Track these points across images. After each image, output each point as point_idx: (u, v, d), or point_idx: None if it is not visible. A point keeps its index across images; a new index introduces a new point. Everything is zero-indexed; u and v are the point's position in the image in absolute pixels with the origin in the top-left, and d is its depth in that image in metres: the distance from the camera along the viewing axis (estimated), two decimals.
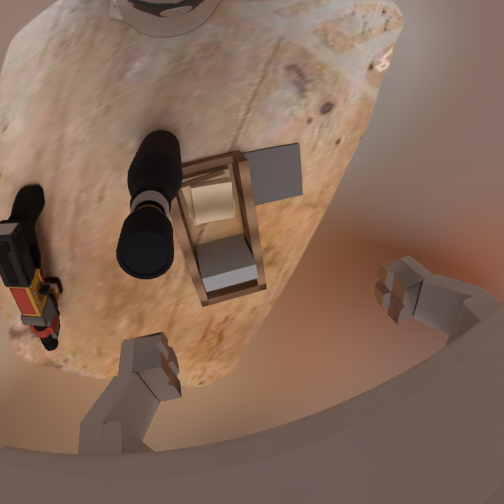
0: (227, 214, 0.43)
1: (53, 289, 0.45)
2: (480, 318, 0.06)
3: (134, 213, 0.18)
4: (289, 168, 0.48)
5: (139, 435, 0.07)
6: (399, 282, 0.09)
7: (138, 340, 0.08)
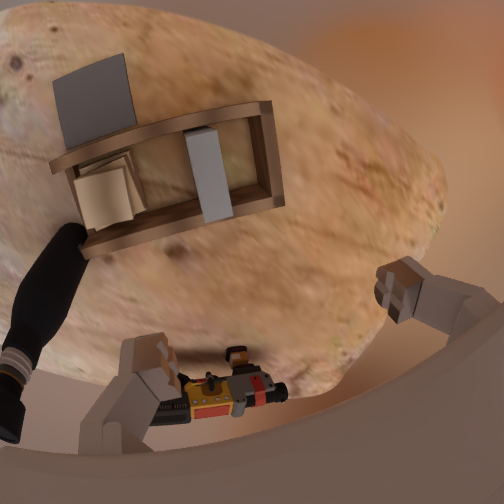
0: (118, 178, 0.27)
1: (233, 360, 0.50)
2: (480, 318, 0.06)
3: None
4: (82, 84, 0.25)
5: (139, 435, 0.07)
6: (399, 282, 0.09)
7: (138, 340, 0.08)
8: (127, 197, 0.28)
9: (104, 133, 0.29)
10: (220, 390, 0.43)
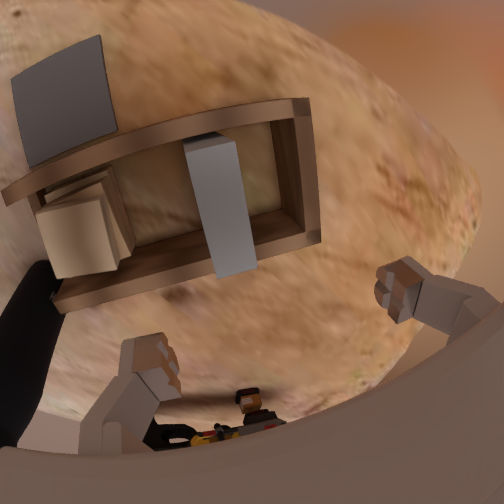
0: (93, 214, 0.18)
1: (244, 406, 0.41)
2: (480, 318, 0.06)
3: None
4: (46, 79, 0.16)
5: (139, 435, 0.07)
6: (399, 282, 0.09)
7: (138, 340, 0.08)
8: (107, 241, 0.20)
9: (74, 144, 0.20)
10: None
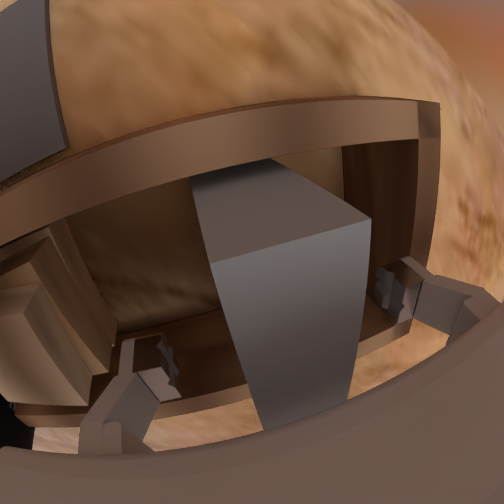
0: (23, 335, 0.08)
1: None
2: (480, 318, 0.06)
3: None
4: None
5: (139, 435, 0.07)
6: (399, 282, 0.09)
7: (138, 340, 0.08)
8: (60, 372, 0.09)
9: (2, 177, 0.10)
10: None
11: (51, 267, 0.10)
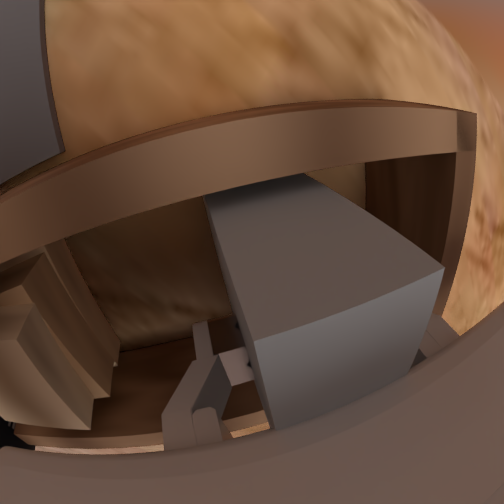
0: (18, 361, 0.07)
1: None
2: (427, 355, 0.06)
3: None
4: None
5: None
6: None
7: (211, 322, 0.09)
8: (60, 399, 0.08)
9: None
10: None
11: (46, 288, 0.09)
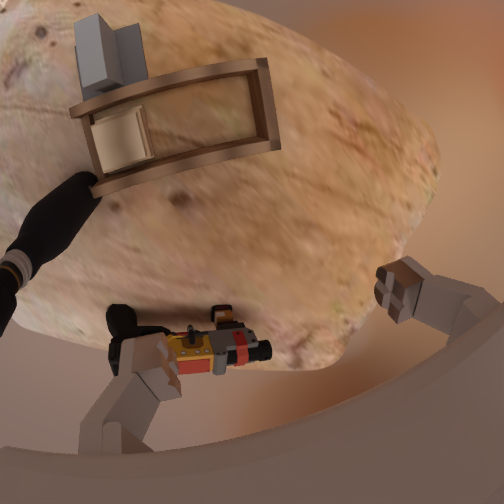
0: (131, 121, 0.29)
1: (217, 318, 0.51)
2: (480, 318, 0.06)
3: None
4: None
5: (139, 435, 0.07)
6: (399, 282, 0.09)
7: (138, 340, 0.08)
8: (140, 137, 0.31)
9: None
10: (201, 344, 0.44)
11: (142, 115, 0.32)
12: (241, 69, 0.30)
